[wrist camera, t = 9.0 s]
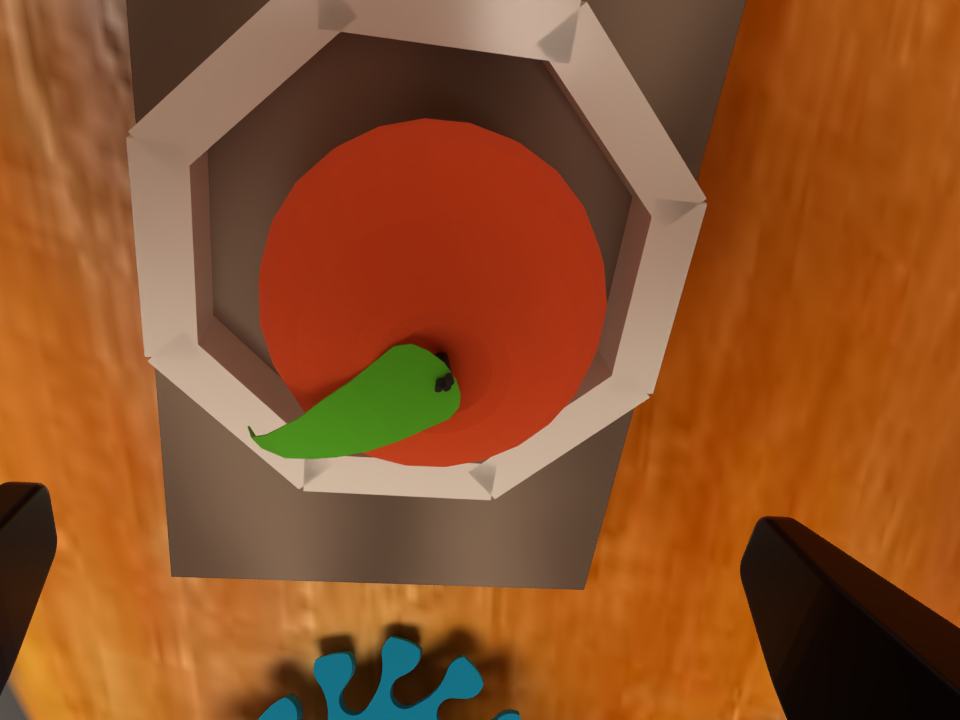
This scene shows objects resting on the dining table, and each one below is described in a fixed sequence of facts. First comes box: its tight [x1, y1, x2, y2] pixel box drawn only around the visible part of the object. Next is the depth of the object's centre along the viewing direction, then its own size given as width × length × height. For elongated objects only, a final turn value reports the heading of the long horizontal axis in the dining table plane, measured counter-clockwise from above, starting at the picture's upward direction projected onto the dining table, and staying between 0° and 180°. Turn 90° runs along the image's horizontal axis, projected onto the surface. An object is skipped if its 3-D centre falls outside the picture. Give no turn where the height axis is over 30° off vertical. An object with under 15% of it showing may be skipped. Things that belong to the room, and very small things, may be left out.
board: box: [126, 0, 746, 590], centre depth 19 cm, size 13×22×1 cm, turn 172°
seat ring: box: [126, 0, 707, 500], centre depth 17 cm, size 12×12×2 cm
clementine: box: [248, 118, 607, 467], centre depth 15 cm, size 8×7×7 cm
